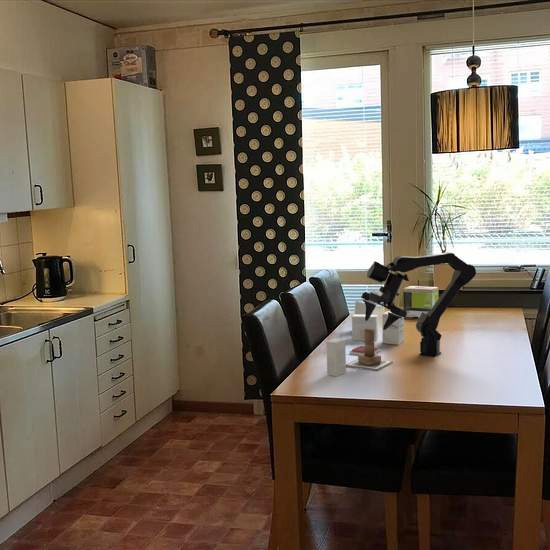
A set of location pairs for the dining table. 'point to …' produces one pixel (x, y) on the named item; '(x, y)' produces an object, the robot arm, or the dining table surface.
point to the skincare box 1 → (336, 357)
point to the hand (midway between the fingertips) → (374, 325)
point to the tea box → (419, 300)
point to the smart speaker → (360, 308)
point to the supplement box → (393, 331)
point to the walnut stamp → (369, 350)
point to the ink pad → (362, 350)
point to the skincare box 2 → (363, 326)
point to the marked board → (373, 367)
